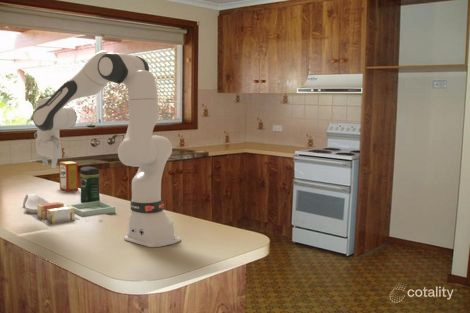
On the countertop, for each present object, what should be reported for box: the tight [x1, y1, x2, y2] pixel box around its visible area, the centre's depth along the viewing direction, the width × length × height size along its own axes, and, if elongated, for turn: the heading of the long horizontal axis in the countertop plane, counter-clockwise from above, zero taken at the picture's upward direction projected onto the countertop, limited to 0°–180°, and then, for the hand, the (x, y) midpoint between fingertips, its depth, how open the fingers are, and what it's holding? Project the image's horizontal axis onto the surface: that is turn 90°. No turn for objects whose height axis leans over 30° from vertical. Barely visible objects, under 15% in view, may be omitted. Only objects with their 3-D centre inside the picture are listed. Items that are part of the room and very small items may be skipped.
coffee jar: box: [79, 165, 101, 203], centre depth 238 cm, size 10×8×19 cm
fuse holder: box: [31, 206, 81, 226], centre depth 206 cm, size 19×14×6 cm
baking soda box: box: [58, 160, 79, 192], centre depth 272 cm, size 10×6×16 cm
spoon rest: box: [22, 193, 51, 214], centre depth 222 cm, size 24×12×7 cm, turn 40°
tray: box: [66, 200, 116, 217], centre depth 220 cm, size 16×16×3 cm
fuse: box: [37, 201, 65, 218], centre depth 210 cm, size 4×10×5 cm, turn 132°
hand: (49, 166), depth 207 cm, fingers open, 8 cm apart
